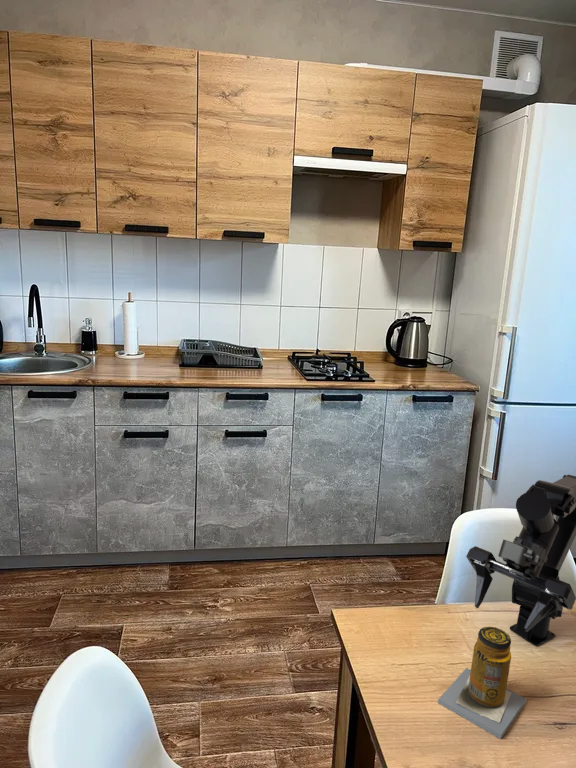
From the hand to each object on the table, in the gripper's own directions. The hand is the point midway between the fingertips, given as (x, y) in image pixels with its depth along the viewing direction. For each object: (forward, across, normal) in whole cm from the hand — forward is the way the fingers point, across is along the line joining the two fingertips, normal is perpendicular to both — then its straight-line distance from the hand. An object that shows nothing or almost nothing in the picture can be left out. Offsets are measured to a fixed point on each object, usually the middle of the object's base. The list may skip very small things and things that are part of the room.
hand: (500, 618), depth 105 cm
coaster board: (+14, +2, +3) cm, 14 cm away
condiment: (+13, +2, +3) cm, 14 cm away
